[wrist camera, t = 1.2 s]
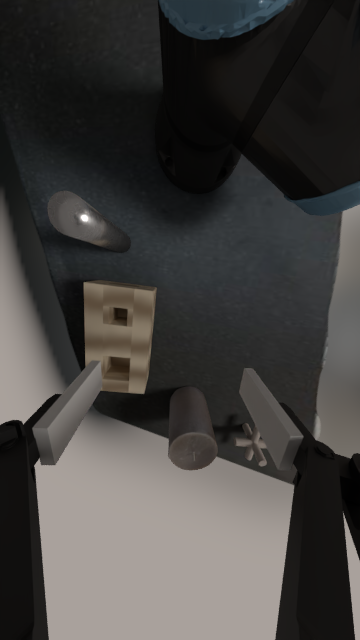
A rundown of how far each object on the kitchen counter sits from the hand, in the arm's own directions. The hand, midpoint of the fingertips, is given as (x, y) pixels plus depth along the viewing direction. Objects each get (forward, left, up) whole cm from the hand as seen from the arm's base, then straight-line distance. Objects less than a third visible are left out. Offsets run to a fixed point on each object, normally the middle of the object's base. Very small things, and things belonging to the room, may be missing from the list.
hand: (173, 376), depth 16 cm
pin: (-13, -12, -24) cm, 30 cm away
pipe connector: (+31, +25, -24) cm, 47 cm away
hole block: (+6, -10, -24) cm, 27 cm away
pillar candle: (+24, +7, -25) cm, 35 cm away
